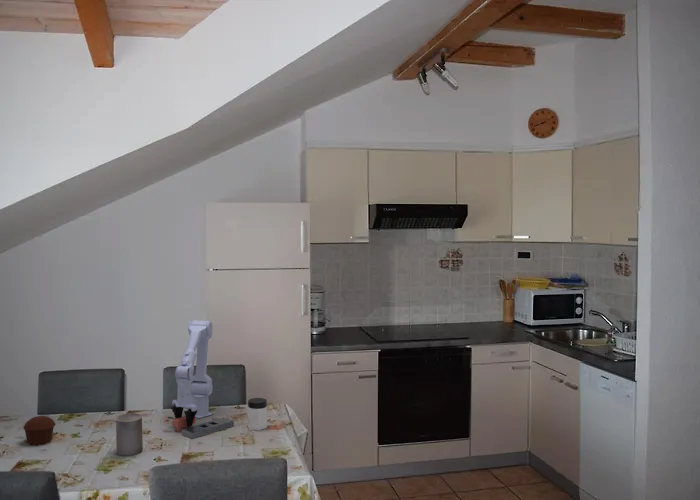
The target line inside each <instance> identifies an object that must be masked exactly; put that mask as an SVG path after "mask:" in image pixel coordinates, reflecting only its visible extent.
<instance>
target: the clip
mask: <svg viewBox="0 0 700 500" xmlns="http://www.w3.org/2000/svg"><path fill="white" fill-rule="evenodd" d="M193 424H196V417H194V420H193ZM193 424H192V426H193ZM192 426H190V427H192ZM172 427H174V428H175V430H176V432H179V433H182V429H183V427H184V428H188V427H187V422H186V416H185V415H184V416H182V417H180V418H176V419H175V418H173V419H172Z"/></svg>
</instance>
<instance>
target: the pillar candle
mask: <svg viewBox="0 0 700 500" xmlns="http://www.w3.org/2000/svg"><path fill="white" fill-rule="evenodd" d="M115 425H116V426H115V427H116V428H115V431H116V432H115V434H116V440H115V441H116V444H115V445H116V447H115V448H116V454H117V455H118V456H121V457H122V456H124V457H125V456H134V455H138V454H140V453H142V452H143V449H144V447H143V445H144V444H143V443H144V442H143V416H142V415H141V414H139V413H136V412H135V413H133V412H131V413H123V414H120V415H118V416H117V417H116V418H115Z"/></svg>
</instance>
